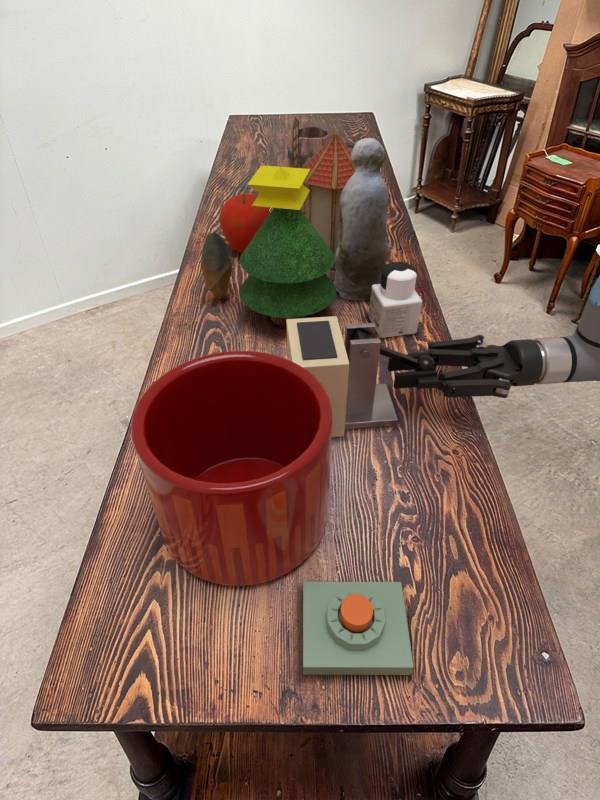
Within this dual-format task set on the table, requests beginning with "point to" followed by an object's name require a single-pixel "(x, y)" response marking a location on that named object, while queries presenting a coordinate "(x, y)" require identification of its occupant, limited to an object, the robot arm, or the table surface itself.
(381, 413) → the metal lever stand
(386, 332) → the container
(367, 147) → the sculpture
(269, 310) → the decorative tree
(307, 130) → the tankard
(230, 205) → the apple
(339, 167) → the miniature windmill
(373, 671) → the control block
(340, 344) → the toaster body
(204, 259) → the decorative stone
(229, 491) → the planter
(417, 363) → the toaster lever
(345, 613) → the button
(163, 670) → the table surface
